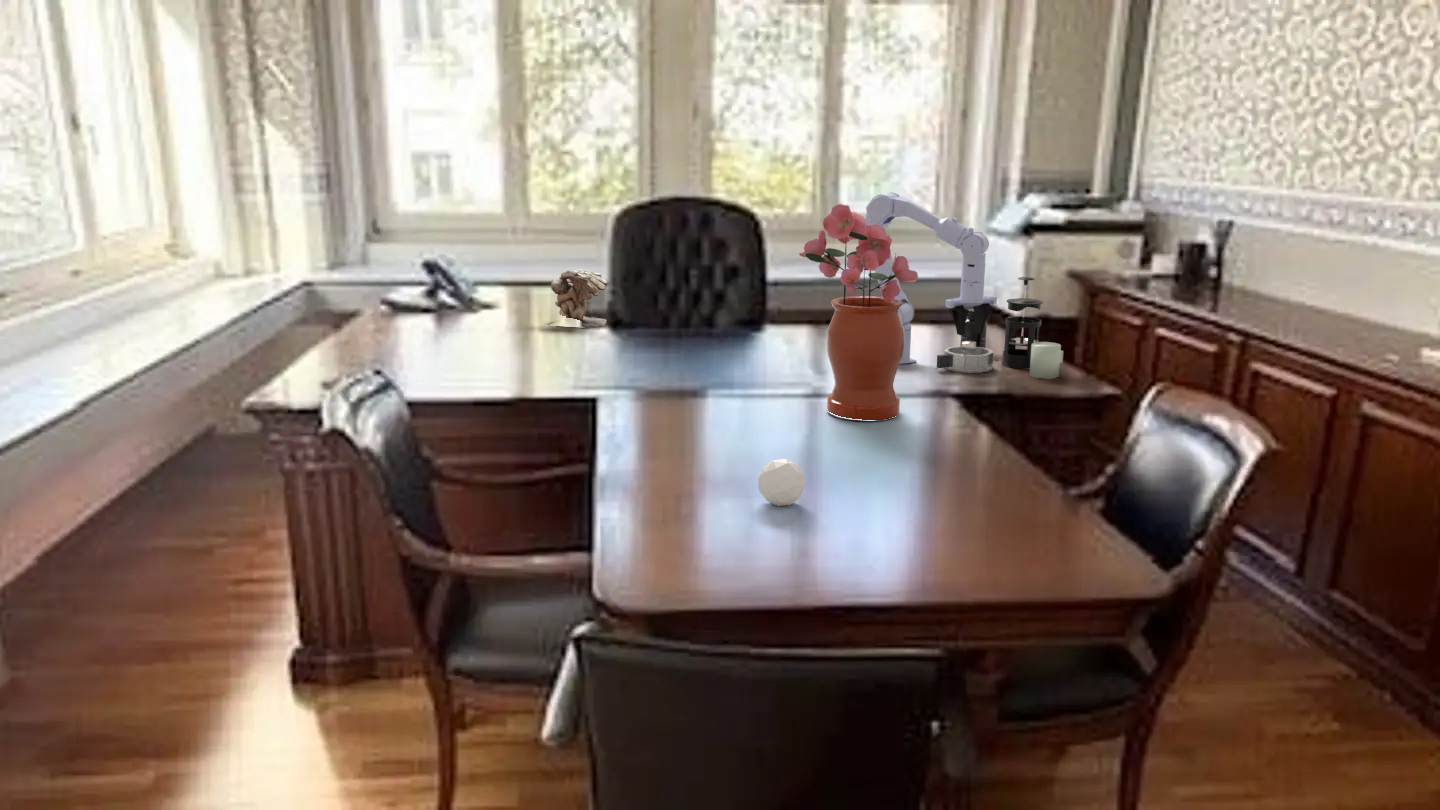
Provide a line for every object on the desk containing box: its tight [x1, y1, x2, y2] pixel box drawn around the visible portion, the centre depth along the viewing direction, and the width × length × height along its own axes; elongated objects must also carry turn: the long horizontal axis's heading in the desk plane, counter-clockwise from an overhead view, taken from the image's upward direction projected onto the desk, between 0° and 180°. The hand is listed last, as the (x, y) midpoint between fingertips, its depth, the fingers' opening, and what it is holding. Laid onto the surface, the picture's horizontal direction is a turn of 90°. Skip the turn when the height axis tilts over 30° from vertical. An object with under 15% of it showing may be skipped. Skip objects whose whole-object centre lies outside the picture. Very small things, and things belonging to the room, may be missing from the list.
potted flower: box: [798, 203, 919, 421], centre depth 226 cm, size 19×25×45 cm
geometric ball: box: [757, 458, 806, 507], centre depth 174 cm, size 8×8×8 cm
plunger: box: [962, 341, 976, 355], centre depth 271 cm, size 9×9×6 cm
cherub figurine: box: [550, 268, 608, 329], centre depth 334 cm, size 18×18×18 cm
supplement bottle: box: [959, 308, 988, 348], centre depth 288 cm, size 7×7×12 cm
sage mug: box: [1028, 341, 1064, 379], centre depth 262 cm, size 9×7×8 cm
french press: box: [1001, 276, 1044, 370], centre depth 273 cm, size 12×9×23 cm
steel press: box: [936, 345, 994, 374], centre depth 270 cm, size 15×12×5 cm
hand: (969, 333), depth 269 cm, fingers open, 5 cm apart
